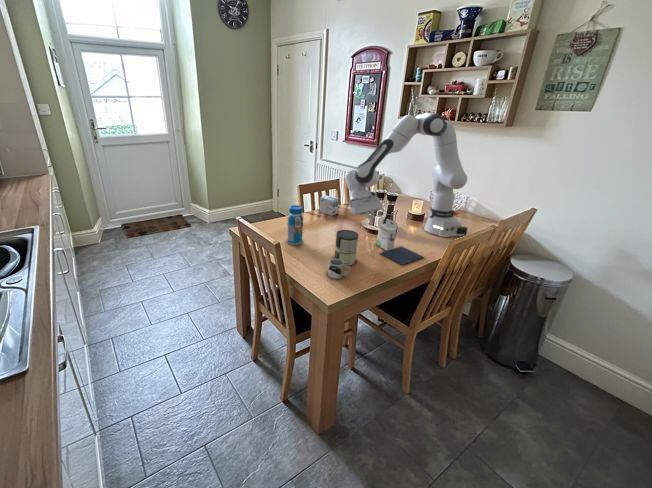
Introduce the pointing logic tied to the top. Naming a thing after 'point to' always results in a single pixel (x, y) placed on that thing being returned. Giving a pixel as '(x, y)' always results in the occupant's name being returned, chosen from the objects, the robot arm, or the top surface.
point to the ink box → (387, 235)
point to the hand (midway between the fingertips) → (372, 219)
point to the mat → (402, 255)
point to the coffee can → (346, 246)
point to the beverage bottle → (295, 225)
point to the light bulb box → (329, 205)
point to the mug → (337, 269)
